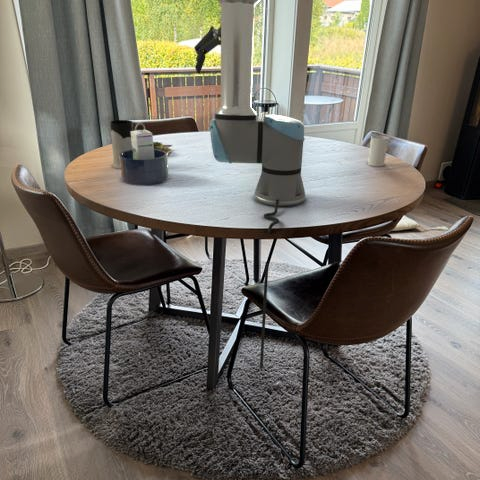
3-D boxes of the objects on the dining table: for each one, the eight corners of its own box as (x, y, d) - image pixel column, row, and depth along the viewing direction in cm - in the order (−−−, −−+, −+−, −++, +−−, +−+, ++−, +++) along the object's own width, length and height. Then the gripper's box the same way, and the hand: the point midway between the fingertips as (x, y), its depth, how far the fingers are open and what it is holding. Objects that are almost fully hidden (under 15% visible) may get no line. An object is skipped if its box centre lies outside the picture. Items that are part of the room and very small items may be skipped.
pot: (166, 185, 160) (165, 160, 156) (118, 184, 159) (115, 159, 155) (170, 172, 173) (168, 148, 169) (125, 172, 172) (123, 148, 168)
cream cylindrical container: (386, 166, 186) (391, 139, 181) (369, 166, 186) (373, 138, 181) (382, 162, 192) (386, 135, 187) (365, 162, 192) (369, 135, 187)
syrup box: (156, 178, 165) (153, 132, 158) (139, 180, 163) (135, 133, 155) (150, 173, 169) (147, 129, 162) (133, 175, 167) (129, 130, 159)
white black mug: (108, 165, 179) (103, 121, 172) (140, 159, 188) (137, 117, 180) (122, 170, 174) (117, 125, 166) (154, 163, 183) (151, 120, 175)
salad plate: (162, 145, 208) (162, 134, 206) (184, 154, 196) (184, 142, 193) (120, 151, 198) (118, 139, 196) (139, 160, 186) (138, 148, 184)
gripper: (272, 28, 164) (254, 82, 160) (204, 26, 172) (186, 77, 168) (268, 8, 157) (249, 65, 153) (197, 7, 165) (177, 61, 161)
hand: (216, 71), depth 160 cm, fingers open, 13 cm apart
